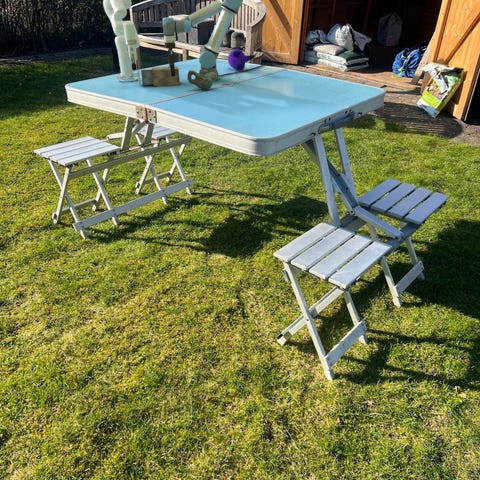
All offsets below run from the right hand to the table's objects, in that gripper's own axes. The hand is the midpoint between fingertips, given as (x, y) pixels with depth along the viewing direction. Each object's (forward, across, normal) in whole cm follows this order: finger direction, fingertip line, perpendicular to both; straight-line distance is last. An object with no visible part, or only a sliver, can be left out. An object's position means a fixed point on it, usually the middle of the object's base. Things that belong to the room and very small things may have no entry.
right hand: (172, 74), depth 325 cm
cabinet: (+6, 0, +5) cm, 8 cm away
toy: (+6, +40, -59) cm, 72 cm away
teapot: (+6, -26, -18) cm, 33 cm away
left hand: (-5, +1, +27) cm, 27 cm away
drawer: (+5, 0, +19) cm, 19 cm away
